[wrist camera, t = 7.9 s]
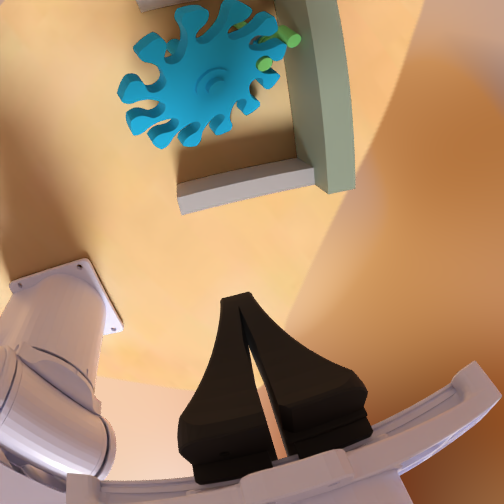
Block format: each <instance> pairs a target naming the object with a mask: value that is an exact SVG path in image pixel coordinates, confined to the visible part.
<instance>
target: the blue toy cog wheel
mask: <svg viewBox="0 0 504 504" xmlns="http://www.w3.org/2000/svg"><path fill="white" fill-rule="evenodd" d="M251 13H252V9H251V8H250V7H249V6H247V5H246V4H244V3H242V2H240V1H238V0H224V1H223V2H222V4H221V6H220V11H219V14H218V17H217V19H216V21H215V22H214V23H213V25H212V26H211V27H210V28H209V29H208V30H207V31H206V32H205V33H204V34H203V35H202V36H200V37H198V38H196V34H197V32H198V31H199V30H200V29H201V28H202V27H203V26H204V25H205V24H206V22H207V21H208V18H209V12H208V10H207V9H205V8H203V7H201V6H200V5H188V6H184V7H180V8H177V10H176V11H175V14H174V18H175V20H176V22H177V23H178V25H179V28H180V41H179V40H178V39H172V40H170V41H169V42H168V43H167V44H166V42H165V41H164V40H163V39H162V38H161V37H160V36H159V35H158V34H157V33H155V32H151V33H149V34H147V35H146V36H144V37H143V38H142V39H141V40H140V41H138V42H137V43H136V44H135V45H134V46H133V50H134V52H135V53H136V54H137V56H138V57H139V58H140V59H141V60H142V61H144V62H148V63H152V64H154V65H156V66H157V67H158V69H159V71H160V77H159V79H158V80H157V81H156V82H155V83H154V84H151V85H144V83H143V82H142V81H141V79H140V78H139V77H138V75H136V74H132V73H130V74H126V75H125V76H124V77H123V79H122V81H121V82H120V85H119V88H118V92H117V94H118V96H119V97H120V99H121V101H122V102H123V103H126V104H131V103H134V102H137V101H140V100H147V99H150V100H156V101H159V103H158V105H157V106H156V107H155V108H153V109H150V110H145V109H142V108H133V109H130V110H129V111H127V112H126V121H127V124H128V126H129V128H130V130H131V132H132V134H133V135H139V134H141V133H143V132H145V131H146V130H147V129H148V128H149V127H151V126H152V125H154V124H155V123H157V122H160V121H163V120H166V119H171V120H170V121H169V122H167V123H165V124H161V125H157V126H154V127H153V128H151V129H150V130H149V131H148V133H147V134H148V136H149V138H150V139H151V141H152V143H153V144H154V145H155V146H156V147H158V148H160V149H163V148H165V147H167V146H168V145H169V144H170V142H171V140H172V139H173V137H174V136H175V135H176V134H177V133H178V132H179V131H180V130H181V129H182V130H181V131H180V132H179V134H178V137H177V138H178V139H179V141H180V142H181V143H182V145H183V146H186V147H193V146H197V145H198V144H199V143H200V141H201V136H202V132H203V130H204V128H205V127H206V125H207V124H208V123H209V122H210V123H209V127H210V128H211V130H212V131H213V132H214V133H215V135H221V134H223V133H226V132H228V131H230V130H231V128H232V123H231V121H230V113H231V110H232V108H233V105H234V104H235V102H237V107H238V108H239V109H240V110H241V111H242V112H243V113H244V114H245V115H248V114H250V113H252V112H253V111H254V110H256V109H257V108H258V107H259V106H260V102H259V101H258V100H257V99H256V98H255V97H254V96H253V95H252V94H250V91H249V86H250V84H251V82H252V81H253V80H255V79H256V80H257V81H258V82H259V83H260V84H261V85H262V86H263V87H264V88H265V89H270V88H272V87H273V86H274V84H275V83H276V82H277V81H278V79H279V78H280V75H279V74H278V73H277V72H276V71H274V70H273V69H272V68H271V65H272V62H273V61H279V60H281V59H282V58H283V57H284V55H285V52H286V47H287V46H288V47H290V48H293V47H296V46H297V45H298V44H299V43H300V41H301V36H300V35H299V34H297V33H296V32H294V31H293V30H291V29H290V28H288V27H287V26H285V25H280V26H278V24H277V21H276V19H275V17H274V16H272V15H270V14H269V13H267V12H265V11H262V12H259V13H257V14H256V15H255V16H254V17H253V19H252V20H251V21H250V22H249V23H246V22H245V20H246V19H247V18H248V17H249V16H250V15H251ZM231 26H234V27H235V28H237V29H238V30H236V31H233V32H231V33H228V30H229V29H230V28H231ZM166 49H167V51H168V52H169V53H170V54H171V56H169V57H164V56H165V52H166ZM272 60H273V61H272ZM213 117H214V118H213ZM212 118H213V119H212ZM190 123H191V124H190ZM189 124H190V125H189ZM187 125H188V126H187ZM185 126H187V127H185ZM184 127H185V128H184Z"/></svg>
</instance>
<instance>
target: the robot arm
mask: <svg viewBox="0 0 504 504" xmlns="http://www.w3.org/2000/svg"><path fill="white" fill-rule="evenodd" d="M78 264H80V265H81V266H82V267H79V266H78ZM20 284H22V285H20ZM9 288H10V290H11V291H12V293H13V295H12V296H11V298H10V300H9V302H8V303H7V305H6V307H5V309H4V311H3V313H2V314H1V316H0V504H413V503H412V500H411V498H410V496H409V494H408V493H407V491H406V488H405V486H404V484H403V483H402V480H401V478H400V475H401V474H403V473H405V472H407V471H408V470H410V469H412V468H413V467H415V466H417V465H418V464H420V463H422V462H423V461H425V460H426V459H428V458H429V457H431V456H432V455H433V454H435V453H437V452H438V451H440V450H441V449H443V448H444V447H446V446H447V445H448V444H449V443H451V442H452V441H454V440H455V439H457V438H458V437H459V436H461V435H462V434H463V433H465V432H466V431H467V430H469V429H470V428H471V427H472V426H474V425H475V424H476V423H477V422H479V421H480V420H481V419H482V418H483V417H484V415H486V414H487V413H488V412H489V410H490V409H491V408H492V407H493V406H494V405H495V404H496V403H497V402H498V401H499V399H500V398H501V397H502V395H501V394H500V392H499V391H498V389H497V388H496V387H495V386H494V384H493V383H492V382H491V380H490V379H489V377H488V376H487V375H486V374H485V372H484V371H483V370H482V368H481V367H480V366H479V365H478V363H477V362H476V361H473V362H472V363H470V364H469V365H467V366H466V367H464V368H463V369H462V370H460V371H459V372H458V373H457V374H456V375H455V376H454V377H453V379H452V381H451V383H450V384H448V385H446V386H445V387H444V388H442V389H440V390H438V391H437V392H435V393H434V394H432V395H430V396H429V397H427V398H425V399H423V400H422V401H420V402H418V403H416V404H414V405H413V406H411V407H409V408H407V409H405V410H403V411H401V412H399V413H398V414H396V415H394V416H392V417H390V418H387V419H385V420H383V421H381V422H379V423H377V424H375V425H373V426H371V425H370V423H369V421H368V419H367V417H366V416H367V412H366V411H365V409H364V404H365V401H366V398H367V394H368V391H367V389H366V387H365V385H364V384H363V382H362V381H361V380H360V379H359V377H357V375H356V374H355V373H354V372H353V371H352V370H350V369H347V368H345V367H342V366H340V365H338V364H335V363H333V362H331V361H329V360H327V359H325V358H323V357H321V356H320V355H318V354H316V353H314V352H313V351H311V350H309V349H307V348H306V347H305V346H303V345H302V344H300V343H299V342H298V341H296V340H295V339H294V338H292V337H291V336H290V335H288V334H287V333H286V332H285V331H284V330H283V329H282V328H280V327H279V326H278V325H277V324H276V323H275V322H274V321H273V320H272V319H271V318H270V317H269V316H268V315H267V314H266V313H265V311H264V310H263V309H262V308H261V307H260V305H259V304H258V303H257V302H256V300H255V299H254V297H253V296H252V294H251V293H250V292H245V293H242V294H238V295H234V296H230V297H226V298H222V299H221V301H220V304H221V309H220V320H219V326H218V332H217V336H216V340H215V344H214V348H213V352H212V355H211V358H210V361H209V363H208V366H207V369H206V371H205V373H204V376H203V378H202V380H201V382H200V384H199V386H198V388H197V390H196V392H195V394H194V396H193V397H192V399H191V401H190V402H189V404H188V405H187V407H186V408H185V410H184V411H183V413H182V415H181V416H180V418H179V424H178V436H177V438H178V448H179V453H180V454H181V455H182V456H183V457H184V458H185V459H186V460H187V461H189V462H190V463H191V464H192V466H193V472H194V476H193V477H185V478H175V479H162V480H142V481H104V479H105V478H106V477H107V475H108V474H109V472H110V470H111V468H112V465H113V463H114V459H115V454H116V438H115V434H114V431H113V428H112V426H111V424H110V423H109V422H108V421H107V420H106V419H105V418H104V417H102V416H100V414H101V401H99V400H98V399H97V398H96V397H95V395H94V392H95V383H96V376H97V369H98V362H99V356H100V350H101V344H102V338H103V335H107V334H112V333H116V332H121V331H123V328H124V325H123V323H122V321H121V320H120V318H119V316H118V314H117V313H116V311H115V309H114V307H113V305H112V303H111V302H110V300H109V298H108V296H107V294H106V292H105V290H104V288H103V286H102V284H101V282H100V280H99V278H98V276H97V274H96V272H95V270H94V268H93V266H92V264H91V262H90V260H88V259H87V258H83V259H79V260H76V261H73V262H69V263H66V264H63V265H60V266H57V267H53V268H50V269H47V270H44V271H41V272H38V273H35V274H32V275H29V276H26V277H23V278H20V279H17V280H14V281H11V282H10V284H9ZM112 327H114V328H112ZM248 345H249V346H248ZM249 348H250V350H251V353H252V355H253V358H254V360H255V363H256V365H257V367H258V370H259V372H260V375H261V377H262V379H263V382H264V384H265V387H266V390H267V393H268V396H269V399H270V403H271V406H272V409H273V412H274V415H275V419H276V422H277V425H278V428H279V431H280V434H281V438H282V441H283V444H284V447H285V450H286V453H287V457H286V458H282V459H279V460H278V458H277V455H276V452H275V448H274V445H273V442H272V438H271V435H270V432H269V428H268V425H267V421H266V418H265V415H264V412H263V408H262V405H261V402H260V398H259V395H258V392H257V388H256V385H255V380H254V374H253V369H252V363H251V357H250V352H249Z"/></svg>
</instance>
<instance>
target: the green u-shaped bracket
mask: <svg viewBox="0 0 504 504" xmlns="http://www.w3.org/2000/svg"><path fill="white" fill-rule="evenodd" d="M192 1H198V0H136V2H137V4H138V6H139V9H140V11H141V13H142V12H146V11H149V10H153V9H157V8H162V7H166V6H171V5H176V4H181V3H186V2H192ZM274 5H275V10H276V15H277V21H278V26H280V25H285V26H287V27H288V28H290V29H291V30H293V31H294V32H296V33H297V34H299V35H300V36H301V41H300V43H299V44H298V45H297V46H296V47H293V48H290V47H288V46H287V47H286V52H285V55H284V62H285V69H286V75H287V82H288V89H289V96H290V104H291V111H292V119H293V127H294V136H295V144H296V154H297V158H294V159H288V160H283V161H277V162H272V163H267V164H262V165H257V166H252V167H247V168H243V169H238V170H233V171H229V172H224V173H220V174H216V175H212V176H207V177H203V178H199V179H195V180H191V181H187V182H183V183H180V184H177V200H178V204H179V208H180V211H181V215H185V214H188V213H192V212H196V211H200V210H204V209H208V208H212V207H216V206H220V205H224V204H228V203H233V202H237V201H241V200H245V199H250V198H254V197H258V196H263V195H267V194H272V193H276V192H281V191H286V190H290V189H295V188H300V187H305V186H310V185H316V186H318V187H319V188H320V189H322V190H323V191H325V192H326V193H327V194H332V193H336V192H341V191H346V190H351V189H355V154H354V134H353V118H352V106H351V95H350V85H349V76H348V68H347V60H346V53H345V46H344V39H343V33H342V27H341V21H340V16H339V10H338V5H337V0H274Z"/></svg>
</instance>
